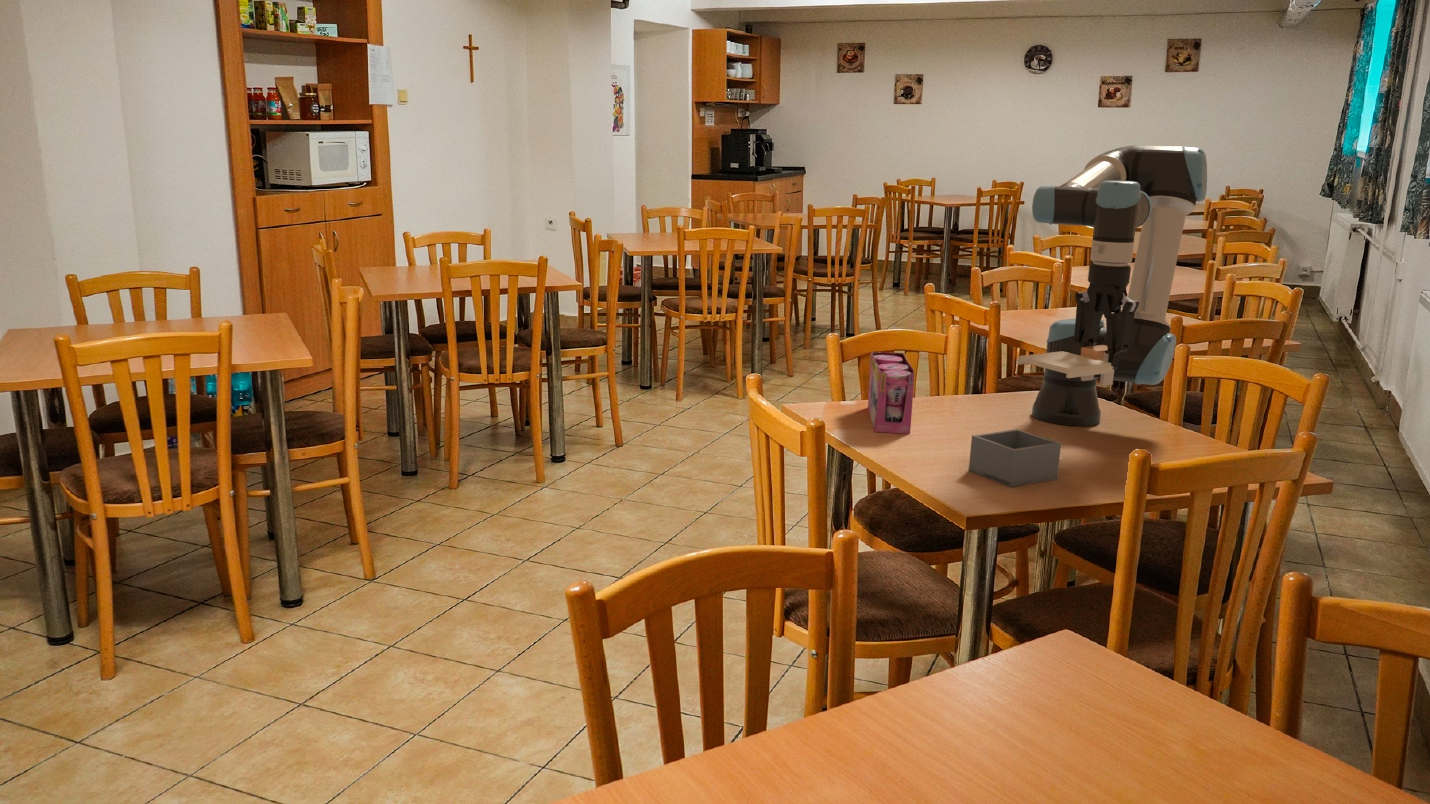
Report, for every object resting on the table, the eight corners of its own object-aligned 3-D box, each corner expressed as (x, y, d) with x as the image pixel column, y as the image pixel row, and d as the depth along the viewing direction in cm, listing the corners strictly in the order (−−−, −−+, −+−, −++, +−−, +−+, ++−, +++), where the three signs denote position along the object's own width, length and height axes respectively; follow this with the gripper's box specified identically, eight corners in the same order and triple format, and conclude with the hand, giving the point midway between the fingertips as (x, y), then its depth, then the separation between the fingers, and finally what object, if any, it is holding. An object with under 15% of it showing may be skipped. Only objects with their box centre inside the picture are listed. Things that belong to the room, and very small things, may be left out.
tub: (1013, 463, 209) (1017, 429, 207) (1057, 478, 199) (1061, 443, 198) (968, 470, 203) (971, 435, 201) (1010, 487, 193) (1014, 450, 192)
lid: (1082, 360, 214) (1085, 340, 213) (1135, 373, 203) (1138, 353, 202) (1016, 368, 205) (1018, 347, 204) (1068, 382, 194) (1070, 361, 193)
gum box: (912, 436, 226) (916, 374, 223) (874, 434, 227) (879, 372, 223) (900, 409, 249) (904, 352, 246) (866, 407, 250) (870, 351, 247)
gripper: (1062, 259, 207) (1049, 375, 213) (1133, 269, 193) (1118, 394, 199) (1089, 257, 211) (1076, 371, 217) (1161, 268, 196) (1145, 390, 202)
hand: (1096, 382), depth 208 cm, fingers closed on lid, 4 cm apart
